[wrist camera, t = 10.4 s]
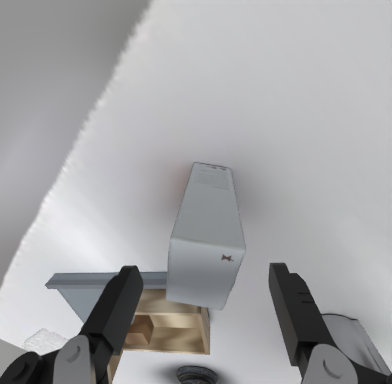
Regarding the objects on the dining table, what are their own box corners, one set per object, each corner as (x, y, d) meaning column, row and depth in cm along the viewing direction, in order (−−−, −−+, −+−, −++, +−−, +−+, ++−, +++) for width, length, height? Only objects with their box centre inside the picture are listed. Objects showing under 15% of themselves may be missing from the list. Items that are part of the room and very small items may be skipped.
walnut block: (148, 313, 32) (142, 333, 29) (154, 325, 34) (149, 345, 31) (127, 313, 33) (120, 332, 30) (134, 325, 34) (127, 344, 32)
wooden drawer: (202, 285, 28) (197, 356, 20) (210, 326, 33) (208, 394, 26) (107, 285, 30) (72, 349, 23) (129, 324, 36) (107, 385, 28)
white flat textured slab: (45, 325, 43) (38, 334, 42) (112, 358, 49) (109, 367, 48) (25, 339, 49) (18, 348, 47) (88, 367, 54) (84, 376, 53)
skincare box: (193, 161, 20) (169, 235, 9) (231, 167, 20) (250, 249, 9) (187, 206, 23) (163, 302, 12) (220, 212, 23) (225, 313, 12)
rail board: (198, 271, 28) (197, 284, 26) (208, 323, 35) (208, 336, 33) (55, 273, 32) (44, 285, 30) (89, 319, 39) (82, 331, 37)
